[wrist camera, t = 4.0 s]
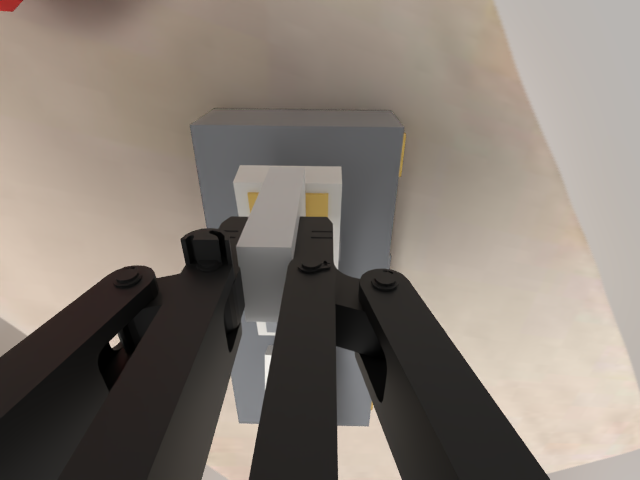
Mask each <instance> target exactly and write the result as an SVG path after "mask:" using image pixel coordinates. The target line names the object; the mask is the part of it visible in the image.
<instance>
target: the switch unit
mask: <svg viewBox="0 0 640 480" xmlns="http://www.w3.org/2000/svg"><path fill="white" fill-rule="evenodd" d="M190 130H191V136H192V142H193V148H194V154H195V160H196V166H197V172H198V178H199V184H200V190H201V196H202V202H203V208H204V214H205V220H206V226H207V228H215V229H218V228H219V227H220V225H221V223H222V222H223V221H225V220H226V219H228V218H229V217H231V216H239V215H238V209H237V203H236V197H235V191H234V185H233V181H234V179H235V176H236V174H237V171H238V169H239V166H240V165H268V166H341V170H342V199H341V219H340V240H339V260H338V270H339V271H340V272H341V273H343V274H345V275H347V276H351V277H354V278H358V279H360V278H361V276H362V274H364V273H365V272H367V271H369V270H373V269H390V262H391V254H390V245H391V236H392V228H393V220H394V211H395V203H396V195H397V186H398V178H399V177H401V172H402V164H403V156H404V148H405V140H406V134H405V133H404V126H403V125H402V124H401V122H400V121H399V120H398V119H397V117H396V116H395V115H394V114H393V112H392V111H391V110H304V109H218V108H214V109H212V110H211V111H209V112H208V113H206V114H205V115H203V116H202V117H200V118H199V119H197V120H196V121H194V122H193V123H191V124H190ZM241 323H242V336H241V340H240V343H239V347H238V351H237V354H236V358H235V361H234V365H233V368H232V372H231V378H232V384H233V390H234V396H235V402H236V408H237V414H238V420H239V423H249V424H259V421H260V416H261V410H262V405H263V399H264V394H265V353H266V350H267V347H268V345H273V344H274V339H275V336H274V335H258V329H257V323H256V322H246V320H245V312H244V311H243V315H242V318H241ZM336 385H337V426H369V420H370V412H371V410H372V408H373V403H372V400H371V397H370V395H369V392H368V390H367V387H366V384H365V382H364V379H363V376H362V374H361V371H360V369H359V366H358V363H357V361H356V358H355V352H354V351H351V350H347V349H344V348H340V347H337V346H336Z"/></svg>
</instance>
